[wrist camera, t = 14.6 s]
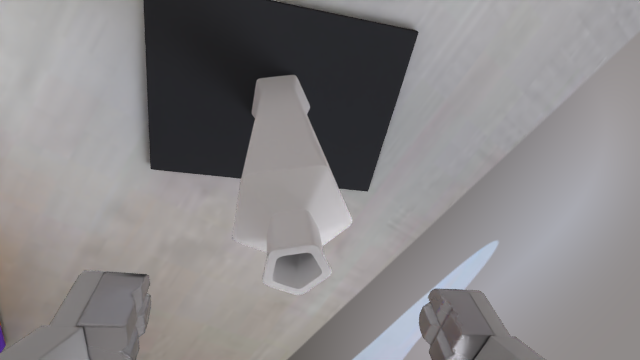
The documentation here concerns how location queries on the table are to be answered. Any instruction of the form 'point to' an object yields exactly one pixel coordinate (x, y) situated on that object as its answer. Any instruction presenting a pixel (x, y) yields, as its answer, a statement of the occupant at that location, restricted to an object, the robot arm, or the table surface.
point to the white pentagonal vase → (287, 190)
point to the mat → (261, 62)
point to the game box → (2, 340)
